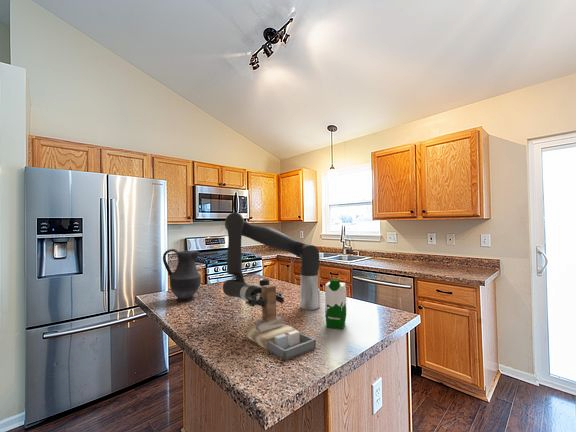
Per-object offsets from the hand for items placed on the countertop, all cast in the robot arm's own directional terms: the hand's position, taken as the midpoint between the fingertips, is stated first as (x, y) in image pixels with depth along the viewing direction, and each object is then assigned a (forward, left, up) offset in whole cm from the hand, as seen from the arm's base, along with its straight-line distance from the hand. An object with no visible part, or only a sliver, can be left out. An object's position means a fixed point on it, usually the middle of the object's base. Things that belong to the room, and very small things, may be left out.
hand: (274, 302), depth 103 cm
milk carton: (-29, 0, -14) cm, 33 cm away
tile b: (+2, +7, -11) cm, 14 cm away
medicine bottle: (-18, -52, -14) cm, 57 cm away
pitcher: (+24, -75, -14) cm, 80 cm away
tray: (-2, +10, -14) cm, 17 cm away
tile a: (-4, +7, -11) cm, 14 cm away
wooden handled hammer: (+1, -3, -10) cm, 11 cm away
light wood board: (0, -2, -14) cm, 14 cm away
